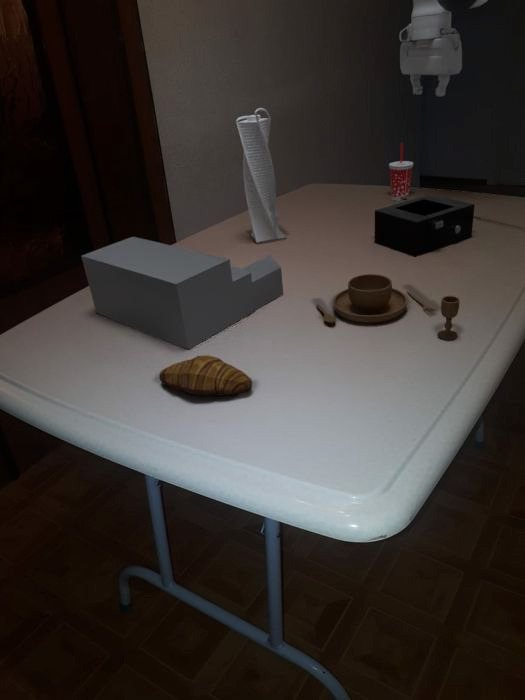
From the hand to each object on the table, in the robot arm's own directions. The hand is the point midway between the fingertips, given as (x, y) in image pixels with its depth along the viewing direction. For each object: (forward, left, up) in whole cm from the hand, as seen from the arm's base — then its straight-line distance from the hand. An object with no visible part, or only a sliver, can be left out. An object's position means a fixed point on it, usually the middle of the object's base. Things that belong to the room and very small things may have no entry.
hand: (428, 95), depth 135 cm
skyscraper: (+48, -1, -25) cm, 54 cm away
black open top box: (+25, +25, -24) cm, 43 cm away
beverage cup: (+6, -2, -25) cm, 25 cm away
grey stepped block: (+77, +20, -24) cm, 84 cm away
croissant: (+87, +47, -25) cm, 102 cm away
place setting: (+56, +47, -24) cm, 77 cm away
